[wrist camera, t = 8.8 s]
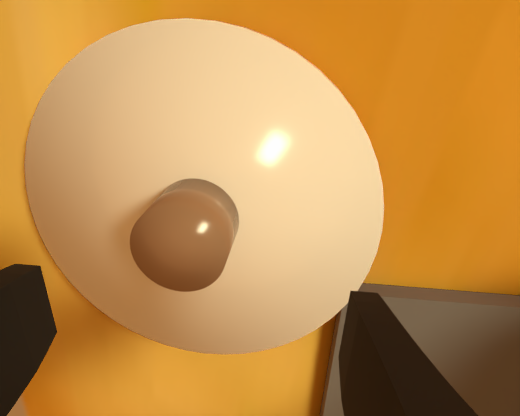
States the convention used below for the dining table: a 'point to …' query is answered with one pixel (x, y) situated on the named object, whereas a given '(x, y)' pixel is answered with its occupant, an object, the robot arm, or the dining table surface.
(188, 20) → the lid
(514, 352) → the mat
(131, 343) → the dining table surface
